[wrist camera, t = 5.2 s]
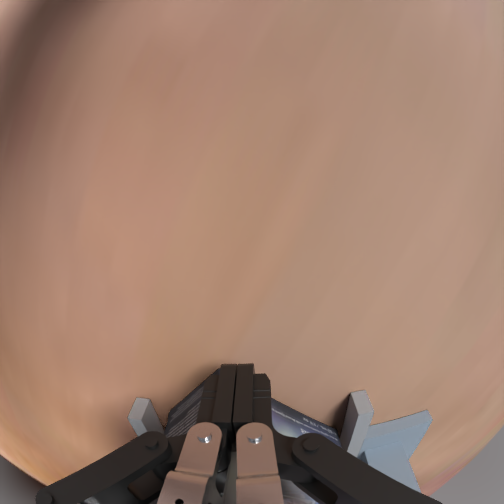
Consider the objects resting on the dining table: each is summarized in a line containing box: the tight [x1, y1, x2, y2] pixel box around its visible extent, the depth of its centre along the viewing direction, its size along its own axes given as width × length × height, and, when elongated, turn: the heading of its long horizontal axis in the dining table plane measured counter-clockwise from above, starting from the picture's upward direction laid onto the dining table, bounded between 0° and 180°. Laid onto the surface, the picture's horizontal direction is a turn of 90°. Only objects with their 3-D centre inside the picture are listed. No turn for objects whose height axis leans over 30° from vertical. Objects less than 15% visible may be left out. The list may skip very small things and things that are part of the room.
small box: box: [149, 368, 342, 504], centre depth 11 cm, size 11×6×10 cm, turn 51°
